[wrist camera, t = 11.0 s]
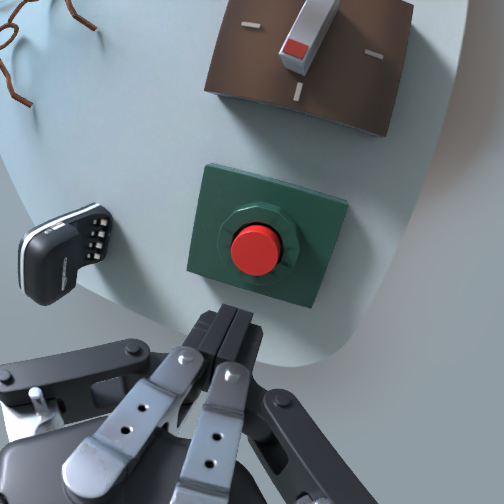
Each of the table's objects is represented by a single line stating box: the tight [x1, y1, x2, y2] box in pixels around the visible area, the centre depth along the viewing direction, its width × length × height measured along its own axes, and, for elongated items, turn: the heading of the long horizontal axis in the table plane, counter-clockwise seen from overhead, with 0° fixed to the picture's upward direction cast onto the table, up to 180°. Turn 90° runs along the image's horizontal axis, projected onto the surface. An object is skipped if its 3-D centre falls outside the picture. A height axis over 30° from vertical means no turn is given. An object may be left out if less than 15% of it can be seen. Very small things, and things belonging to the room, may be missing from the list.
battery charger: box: [18, 203, 113, 306], centre depth 26 cm, size 7×4×11 cm, turn 156°
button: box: [231, 225, 281, 276], centre depth 24 cm, size 4×4×2 cm
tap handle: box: [279, 0, 340, 76], centre depth 16 cm, size 6×2×4 cm, turn 156°
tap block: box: [204, 0, 414, 137], centre depth 19 cm, size 14×12×3 cm
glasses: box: [0, 0, 97, 108], centre depth 21 cm, size 13×13×5 cm
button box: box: [187, 163, 348, 308], centre depth 26 cm, size 12×10×4 cm
